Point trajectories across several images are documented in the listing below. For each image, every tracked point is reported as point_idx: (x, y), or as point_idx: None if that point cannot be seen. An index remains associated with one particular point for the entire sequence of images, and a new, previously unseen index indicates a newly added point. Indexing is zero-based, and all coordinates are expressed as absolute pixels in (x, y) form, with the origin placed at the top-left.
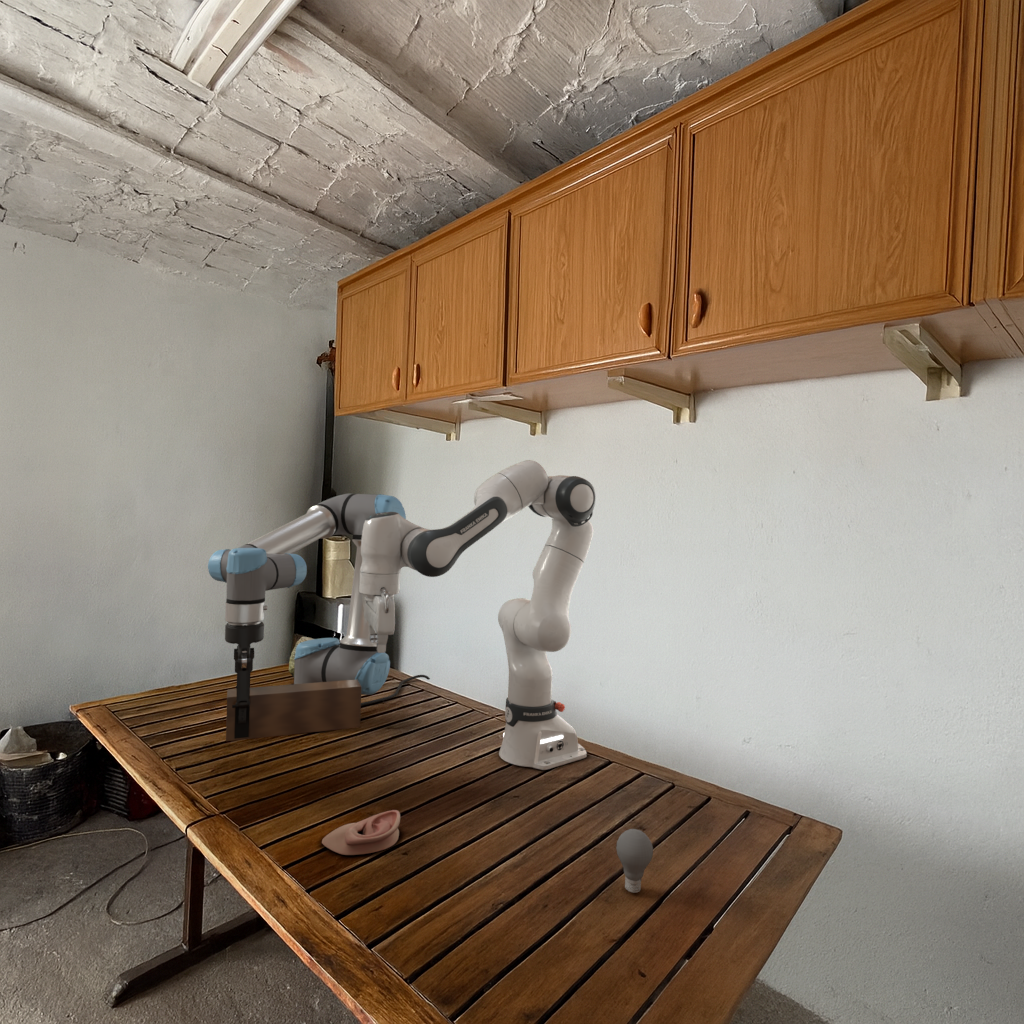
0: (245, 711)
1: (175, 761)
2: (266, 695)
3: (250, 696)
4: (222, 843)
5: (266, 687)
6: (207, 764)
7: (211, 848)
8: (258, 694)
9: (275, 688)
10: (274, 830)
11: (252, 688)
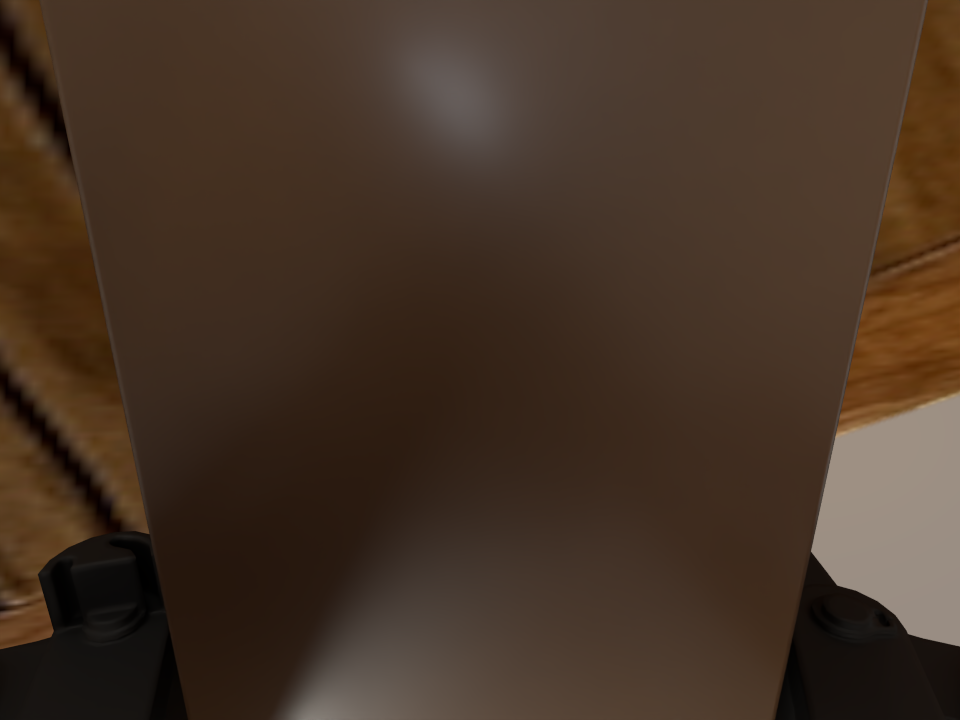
0: (824, 583)
1: (34, 563)
2: (835, 370)
3: (774, 676)
4: (927, 352)
5: (223, 364)
6: (85, 435)
7: (943, 390)
8: (788, 556)
9: (369, 110)
10: (935, 131)
11: (253, 655)
